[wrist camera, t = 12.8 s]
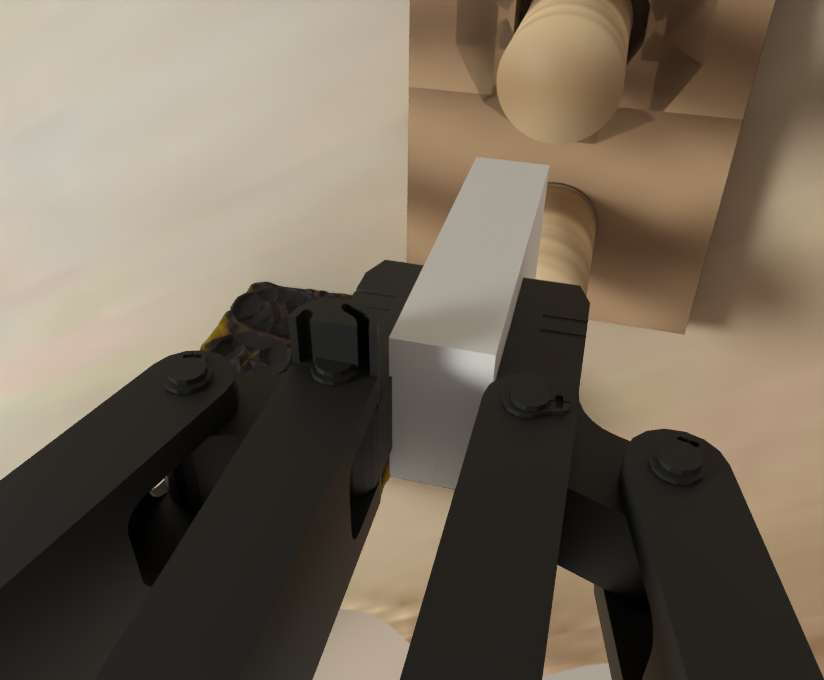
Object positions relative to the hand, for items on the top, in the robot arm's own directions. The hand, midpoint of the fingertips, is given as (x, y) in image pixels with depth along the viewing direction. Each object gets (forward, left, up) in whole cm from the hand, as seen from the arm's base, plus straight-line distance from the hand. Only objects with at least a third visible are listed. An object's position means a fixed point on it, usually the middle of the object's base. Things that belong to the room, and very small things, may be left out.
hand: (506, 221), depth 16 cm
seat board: (+3, 0, -20) cm, 20 cm away
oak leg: (0, 0, -20) cm, 20 cm away
